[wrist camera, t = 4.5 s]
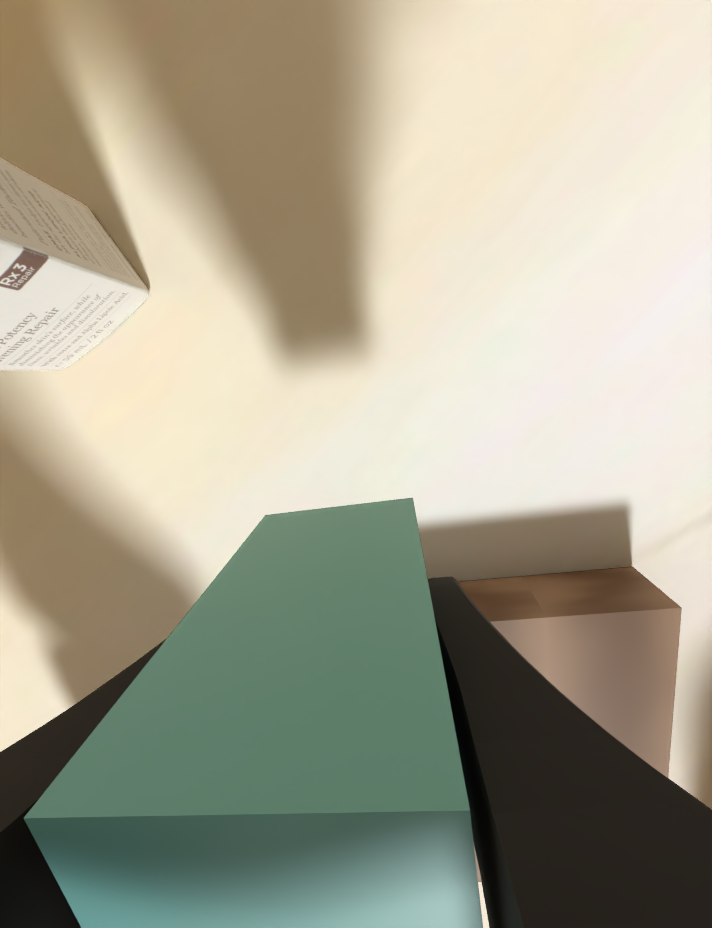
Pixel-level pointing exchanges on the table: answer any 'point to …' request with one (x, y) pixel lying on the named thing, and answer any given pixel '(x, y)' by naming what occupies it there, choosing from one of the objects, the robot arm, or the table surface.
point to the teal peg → (279, 750)
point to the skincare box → (56, 276)
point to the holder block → (596, 647)
